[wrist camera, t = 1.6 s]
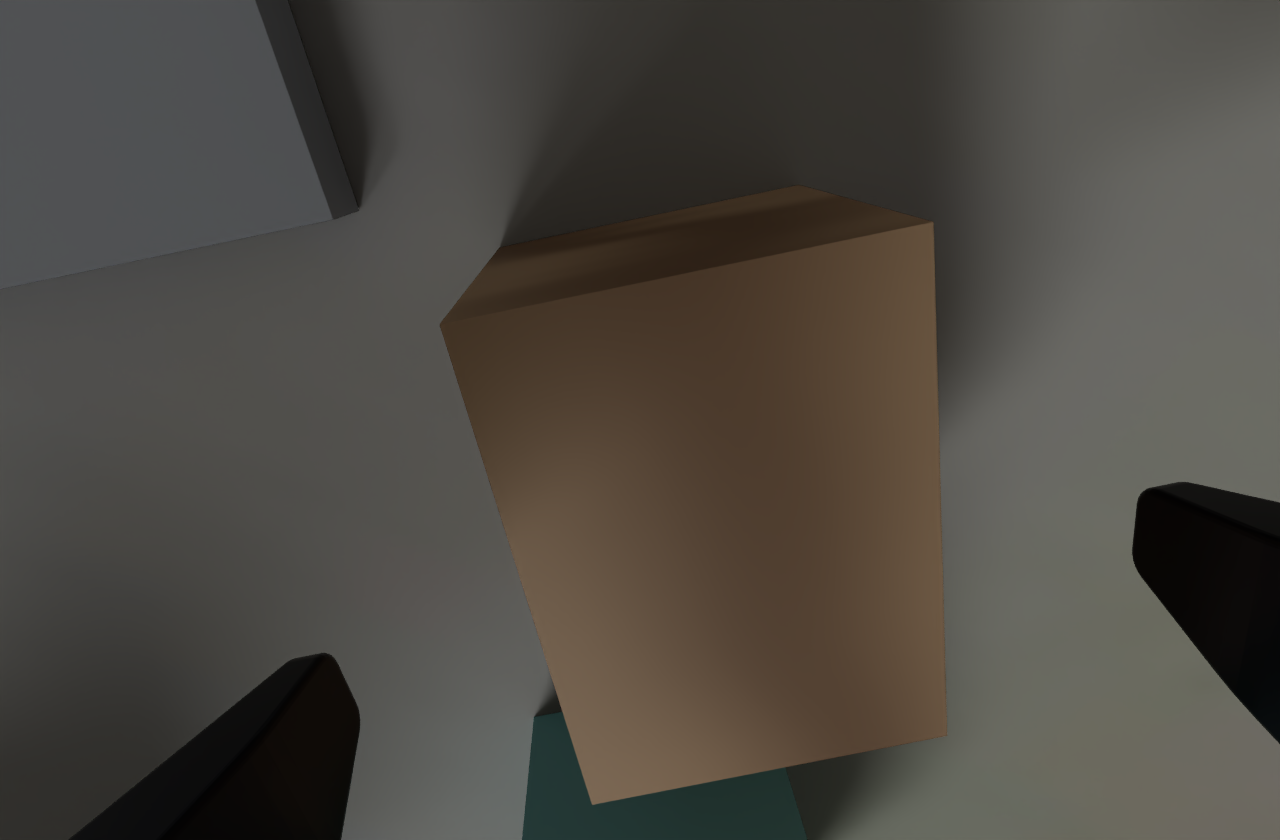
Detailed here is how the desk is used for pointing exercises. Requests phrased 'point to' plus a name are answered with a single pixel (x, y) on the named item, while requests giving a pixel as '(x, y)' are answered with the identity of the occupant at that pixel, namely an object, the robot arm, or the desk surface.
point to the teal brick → (650, 802)
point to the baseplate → (155, 131)
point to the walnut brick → (720, 480)
